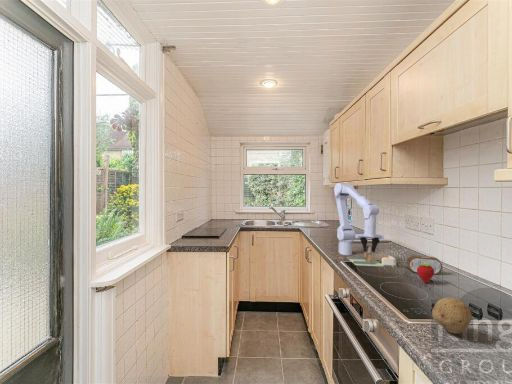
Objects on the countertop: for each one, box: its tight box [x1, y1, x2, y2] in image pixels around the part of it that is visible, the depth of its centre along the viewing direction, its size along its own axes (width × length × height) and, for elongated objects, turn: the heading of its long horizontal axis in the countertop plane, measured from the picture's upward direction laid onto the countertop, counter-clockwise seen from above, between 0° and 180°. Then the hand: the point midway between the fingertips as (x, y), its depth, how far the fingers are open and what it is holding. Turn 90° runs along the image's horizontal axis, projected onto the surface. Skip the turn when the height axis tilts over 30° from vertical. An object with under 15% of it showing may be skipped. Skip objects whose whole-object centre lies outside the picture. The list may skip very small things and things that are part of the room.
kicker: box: [363, 245, 375, 262], centre depth 149 cm, size 8×2×8 cm, turn 178°
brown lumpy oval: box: [431, 297, 473, 335], centre depth 79 cm, size 9×9×10 cm
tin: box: [406, 254, 443, 276], centre depth 136 cm, size 15×3×8 cm, turn 74°
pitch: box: [346, 253, 397, 267], centre depth 149 cm, size 16×22×4 cm
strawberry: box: [416, 263, 434, 284], centre depth 121 cm, size 6×8×10 cm
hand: (369, 251), depth 149 cm, fingers open, 4 cm apart
